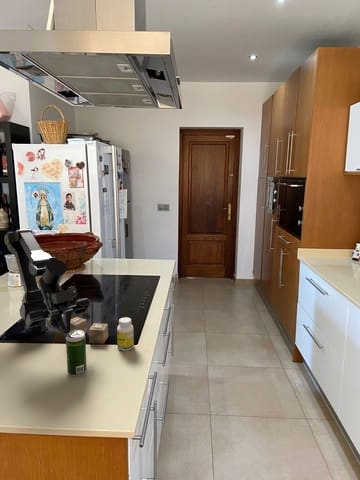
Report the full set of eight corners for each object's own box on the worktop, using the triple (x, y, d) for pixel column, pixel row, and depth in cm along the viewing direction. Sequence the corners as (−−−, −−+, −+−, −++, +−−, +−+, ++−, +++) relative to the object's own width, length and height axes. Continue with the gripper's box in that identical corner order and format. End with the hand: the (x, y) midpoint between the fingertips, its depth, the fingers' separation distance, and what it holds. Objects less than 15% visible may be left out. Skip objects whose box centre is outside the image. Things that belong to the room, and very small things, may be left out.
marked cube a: (89, 343, 116) (89, 328, 115) (94, 336, 121) (94, 322, 120) (103, 343, 115) (103, 329, 114) (108, 337, 120) (107, 323, 119)
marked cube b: (66, 334, 121) (65, 321, 120) (77, 329, 125) (76, 316, 124) (76, 338, 119) (75, 324, 118) (86, 332, 123) (86, 319, 122)
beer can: (90, 371, 99) (88, 333, 96) (73, 379, 95) (71, 340, 93) (80, 364, 102) (78, 327, 100) (63, 372, 99) (61, 333, 96)
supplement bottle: (114, 346, 113) (113, 319, 111) (127, 341, 117) (127, 314, 115) (123, 353, 110) (123, 324, 108) (136, 347, 113) (136, 320, 111)
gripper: (25, 285, 95) (43, 336, 89) (87, 273, 107) (106, 317, 101) (18, 303, 102) (34, 351, 96) (77, 290, 114) (94, 332, 108)
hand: (68, 337), depth 100 cm, fingers closed
